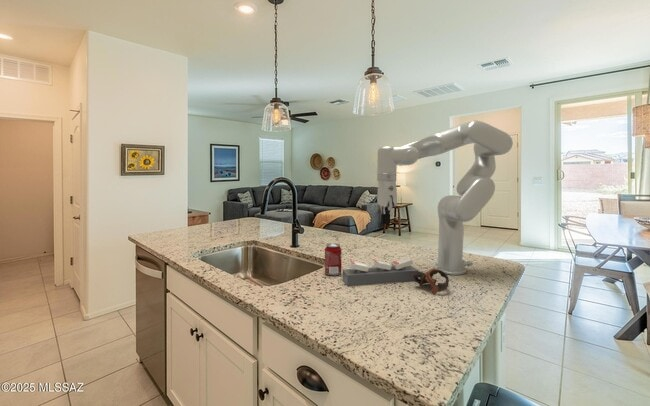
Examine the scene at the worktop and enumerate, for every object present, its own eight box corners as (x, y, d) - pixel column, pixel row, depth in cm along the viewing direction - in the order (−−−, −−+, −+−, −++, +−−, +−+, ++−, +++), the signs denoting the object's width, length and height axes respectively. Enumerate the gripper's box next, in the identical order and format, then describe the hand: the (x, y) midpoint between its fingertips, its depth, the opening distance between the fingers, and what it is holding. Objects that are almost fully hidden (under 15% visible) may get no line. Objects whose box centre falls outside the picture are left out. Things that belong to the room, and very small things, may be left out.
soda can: (340, 276, 119) (340, 247, 118) (323, 275, 121) (323, 246, 120) (342, 271, 126) (342, 243, 125) (326, 270, 127) (326, 242, 126)
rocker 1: (364, 268, 116) (365, 263, 116) (367, 271, 112) (369, 266, 112) (347, 265, 115) (348, 260, 115) (350, 268, 111) (351, 263, 111)
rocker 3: (408, 261, 120) (407, 256, 119) (413, 264, 116) (412, 259, 115) (392, 266, 118) (391, 262, 118) (396, 269, 114) (395, 265, 114)
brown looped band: (442, 285, 112) (450, 270, 107) (443, 305, 104) (452, 290, 99) (410, 275, 113) (416, 260, 109) (408, 294, 106) (415, 279, 101)
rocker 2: (386, 267, 118) (387, 262, 118) (390, 270, 114) (391, 265, 114) (369, 263, 116) (371, 258, 116) (373, 266, 112) (374, 261, 112)
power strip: (424, 273, 123) (425, 262, 123) (434, 279, 116) (434, 267, 116) (342, 279, 116) (342, 267, 116) (347, 286, 110) (347, 273, 109)
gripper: (403, 178, 113) (402, 226, 115) (388, 177, 128) (387, 220, 130) (384, 178, 112) (383, 227, 114) (371, 177, 126) (370, 220, 128)
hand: (385, 223), depth 122 cm, fingers closed
